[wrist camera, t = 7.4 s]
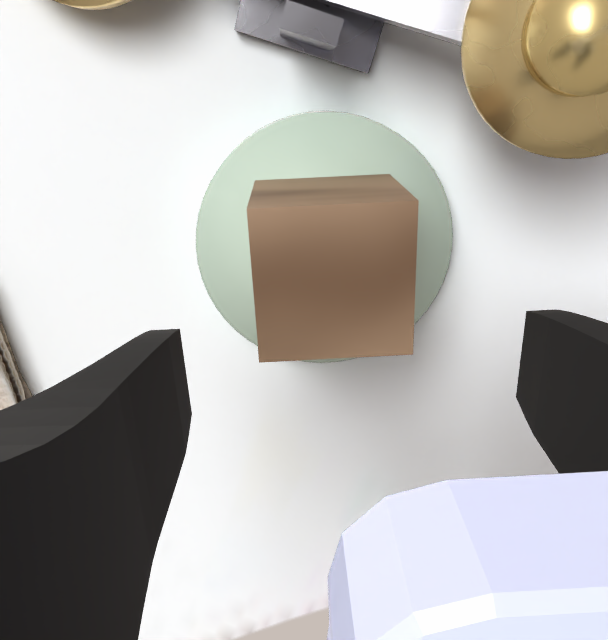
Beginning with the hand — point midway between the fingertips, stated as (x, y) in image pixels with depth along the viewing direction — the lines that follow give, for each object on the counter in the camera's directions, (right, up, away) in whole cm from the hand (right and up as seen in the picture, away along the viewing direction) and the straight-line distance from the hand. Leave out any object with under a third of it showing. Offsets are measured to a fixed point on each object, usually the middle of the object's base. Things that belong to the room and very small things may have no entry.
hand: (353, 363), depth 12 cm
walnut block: (0, +4, +8) cm, 9 cm away
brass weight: (+6, +8, +2) cm, 10 cm away
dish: (0, +4, +9) cm, 10 cm away
